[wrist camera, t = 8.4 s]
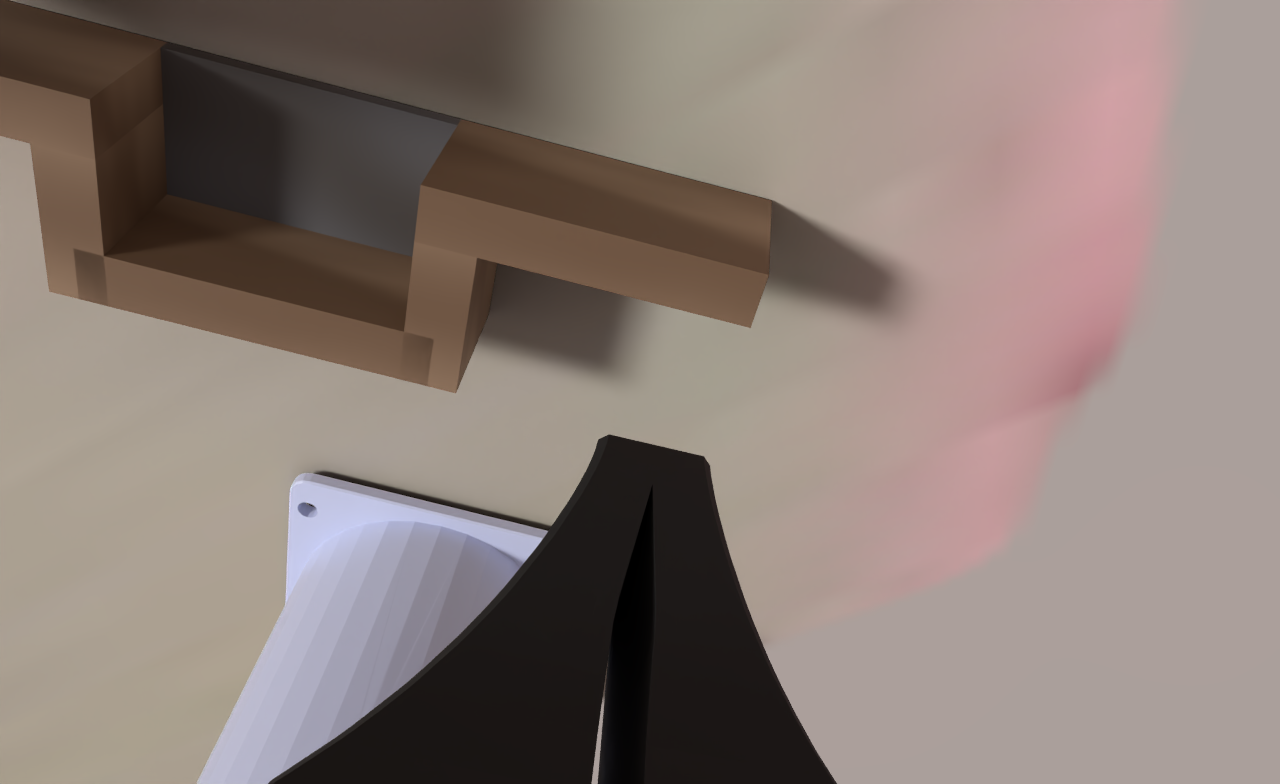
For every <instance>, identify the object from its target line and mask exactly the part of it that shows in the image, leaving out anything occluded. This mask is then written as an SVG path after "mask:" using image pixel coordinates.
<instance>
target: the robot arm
mask: <svg viewBox="0 0 1280 784" xmlns="http://www.w3.org/2000/svg"><path fill="white" fill-rule="evenodd" d="M306 503H310V504H312V505H314V506H315V507H312V506H309V505H307V504H306ZM607 661H608V667H607ZM606 668H607V678H606V690H605V702H604V715H603V727H602V739H601V751H600V763H599V775H598V784H837V783H836V782H835V780H834V778H833V777H832V775H831V774H830V772H829V771H828V769H827V767H826V766H825V764H824V763H823V761H822V760H821V758H820V757H819V755H818V753H817V752H816V750H815V748H814V746H813V745H812V743H811V741H810V739H809V737H808V736H807V734H806V732H805V730H804V728H803V726H802V725H801V723H800V721H799V719H798V718H797V716H796V714H795V712H794V710H793V708H792V706H791V704H790V702H789V700H788V698H787V696H786V694H785V692H784V690H783V688H782V686H781V684H780V682H779V680H778V678H777V676H776V674H775V672H774V669H773V667H772V665H771V663H770V660H769V658H768V656H767V654H766V651H765V649H764V647H763V644H762V642H761V639H760V637H759V634H758V632H757V630H756V627H755V625H754V622H753V620H752V617H751V615H750V612H749V609H748V607H747V604H746V601H745V598H744V596H743V593H742V590H741V587H740V584H739V581H738V578H737V575H736V572H735V569H734V566H733V563H732V560H731V557H730V553H729V550H728V547H727V543H726V540H725V536H724V532H723V529H722V525H721V521H720V517H719V513H718V509H717V504H716V500H715V495H714V490H713V484H712V479H711V472H710V465H709V464H708V462H707V461H706V459H705V458H704V456H699V455H695V454H691V453H687V452H682V451H678V450H674V449H669V448H665V447H661V446H656V445H652V444H648V443H643V442H639V441H635V440H630V439H626V438H622V437H617V436H613V435H607V436H605V437H603V438H601V439H599V440H598V443H597V446H596V449H595V452H594V455H593V457H592V459H591V462H590V464H589V466H588V468H587V470H586V472H585V474H584V476H583V478H582V480H581V481H580V483H579V485H578V486H577V488H576V490H575V492H574V493H573V495H572V497H571V498H570V500H569V502H568V503H567V505H566V506H565V508H564V509H563V510H562V512H561V513H560V515H559V516H558V518H557V519H556V521H555V522H554V524H553V525H552V526H551V528H550V529H549V531H546V530H542V529H538V528H534V527H530V526H526V525H522V524H518V523H514V522H510V521H506V520H502V519H498V518H493V517H489V516H485V515H481V514H477V513H473V512H469V511H465V510H461V509H457V508H453V507H449V506H445V505H440V504H436V503H432V502H428V501H424V500H420V499H416V498H412V497H408V496H404V495H400V494H396V493H392V492H387V491H383V490H379V489H375V488H371V487H367V486H363V485H359V484H355V483H351V482H347V481H343V480H339V479H334V478H330V477H326V476H322V475H318V474H314V473H303V474H300V475H299V476H297V477H296V478H295V480H294V482H293V484H292V486H291V489H290V501H289V527H288V552H287V578H286V604H285V606H284V608H283V610H282V612H281V614H280V616H279V618H278V620H277V622H276V624H275V626H274V628H273V630H272V632H271V634H270V637H269V639H268V641H267V643H266V645H265V647H264V649H263V651H262V653H261V655H260V657H259V659H258V661H257V663H256V665H255V667H254V669H253V671H252V673H251V675H250V677H249V679H248V681H247V683H246V685H245V687H244V689H243V691H242V693H241V695H240V697H239V699H238V701H237V703H236V705H235V707H234V709H233V711H232V713H231V715H230V717H229V719H228V721H227V723H226V725H225V727H224V729H223V731H222V733H221V735H220V737H219V739H218V741H217V743H216V745H215V747H214V749H213V751H212V753H211V755H210V757H209V759H208V761H207V763H206V765H205V767H204V769H203V771H202V773H201V775H200V777H199V779H198V781H197V783H196V784H591V782H592V774H593V766H594V757H595V750H596V741H597V733H598V726H599V719H600V711H601V704H602V697H603V690H604V682H605V675H606Z"/></svg>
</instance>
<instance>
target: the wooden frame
mask: <svg viewBox="0 0 1280 784" xmlns="http://www.w3.org/2000/svg"><path fill="white" fill-rule="evenodd" d="M0 136H4V137H8V138H11V139H15V140H19V141H23V142H27V143H30V145H31V153H32V161H33V169H34V176H35V184H36V192H37V200H38V208H39V215H40V223H41V231H42V239H43V247H44V254H45V262H46V270H47V278H48V286H49V291H50V292H54V293H58V294H62V295H66V296H70V297H74V298H78V299H82V300H86V301H90V302H94V303H98V304H102V305H106V306H109V307H113V308H117V309H121V310H125V311H129V312H133V313H137V314H141V315H145V316H149V317H153V318H157V319H161V320H165V321H169V322H173V323H177V324H181V325H185V326H189V327H193V328H197V329H201V330H205V331H209V332H213V333H217V334H221V335H225V336H229V337H233V338H237V339H241V340H245V341H249V342H253V343H257V344H261V345H265V346H269V347H273V348H277V349H281V350H285V351H289V352H293V353H297V354H301V355H305V356H309V357H313V358H317V359H321V360H325V361H329V362H333V363H337V364H341V365H345V366H349V367H353V368H357V369H361V370H365V371H369V372H373V373H377V374H381V375H385V376H389V377H393V378H397V379H401V380H405V381H409V382H413V383H417V384H421V385H425V386H429V387H433V388H437V389H441V390H445V391H449V392H453V393H456V392H457V389H458V387H459V385H460V382H461V380H462V377H463V375H464V373H465V370H466V368H467V365H468V363H469V361H470V358H471V356H472V353H473V351H474V349H475V346H476V344H477V341H478V339H479V337H480V334H481V332H482V329H483V327H484V325H485V322H486V320H487V317H488V315H489V309H490V303H491V298H492V292H493V286H494V280H495V274H496V268H497V263H499V264H503V265H507V266H511V267H515V268H519V269H523V270H527V271H531V272H535V273H538V274H542V275H546V276H550V277H554V278H558V279H562V280H566V281H570V282H574V283H577V284H581V285H585V286H589V287H593V288H597V289H601V290H605V291H609V292H613V293H617V294H620V295H624V296H628V297H632V298H636V299H640V300H644V301H648V302H652V303H656V304H659V305H663V306H667V307H671V308H675V309H679V310H683V311H687V312H691V313H695V314H698V315H702V316H706V317H710V318H714V319H718V320H722V321H726V322H730V323H734V324H738V325H741V326H745V327H749V328H751V325H752V322H753V319H754V316H755V313H756V311H757V308H758V305H759V302H760V299H761V296H762V294H763V291H764V288H765V285H766V282H767V279H768V277H769V262H770V233H771V204H772V201H771V200H767V199H764V198H760V197H756V196H752V195H748V194H745V193H741V192H737V191H733V190H729V189H725V188H722V187H718V186H714V185H710V184H706V183H703V182H699V181H695V180H691V179H687V178H683V177H680V176H676V175H672V174H668V173H664V172H661V171H657V170H653V169H649V168H645V167H641V166H638V165H634V164H630V163H626V162H622V161H618V160H615V159H611V158H607V157H603V156H599V155H596V154H592V153H588V152H584V151H580V150H576V149H573V148H569V147H565V146H561V145H557V144H554V143H550V142H546V141H542V140H538V139H534V138H531V137H527V136H523V135H519V134H515V133H512V132H508V131H504V130H500V129H496V128H492V127H489V126H485V125H481V124H477V123H473V122H470V121H466V120H462V119H458V118H454V117H450V116H447V115H443V114H439V113H435V112H431V111H428V110H424V109H420V108H416V107H412V106H408V105H405V104H401V103H397V102H393V101H389V100H386V99H382V98H378V97H374V96H370V95H366V94H363V93H359V92H355V91H351V90H347V89H344V88H340V87H336V86H332V85H328V84H324V83H321V82H317V81H313V80H309V79H305V78H302V77H298V76H294V75H290V74H286V73H282V72H279V71H275V70H271V69H267V68H263V67H260V66H256V65H252V64H248V63H244V62H240V61H237V60H233V59H229V58H225V57H221V56H218V55H214V54H210V53H206V52H202V51H198V50H195V49H191V48H187V47H183V46H179V45H176V44H172V43H168V42H164V41H160V40H156V39H153V38H149V37H145V36H141V35H137V34H134V33H130V32H126V31H122V30H118V29H114V28H111V27H107V26H103V25H99V24H95V23H92V22H88V21H84V20H80V19H76V18H72V17H69V16H65V15H61V14H57V13H53V12H50V11H46V10H42V9H38V8H34V7H30V6H27V5H23V4H19V3H15V2H11V1H8V0H0Z"/></svg>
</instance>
